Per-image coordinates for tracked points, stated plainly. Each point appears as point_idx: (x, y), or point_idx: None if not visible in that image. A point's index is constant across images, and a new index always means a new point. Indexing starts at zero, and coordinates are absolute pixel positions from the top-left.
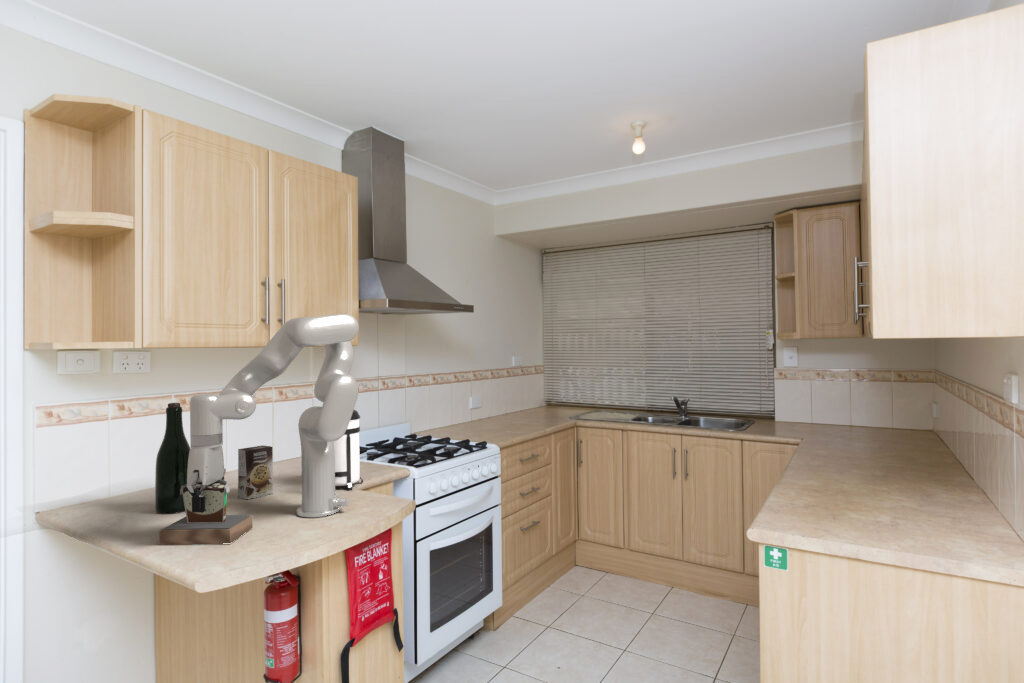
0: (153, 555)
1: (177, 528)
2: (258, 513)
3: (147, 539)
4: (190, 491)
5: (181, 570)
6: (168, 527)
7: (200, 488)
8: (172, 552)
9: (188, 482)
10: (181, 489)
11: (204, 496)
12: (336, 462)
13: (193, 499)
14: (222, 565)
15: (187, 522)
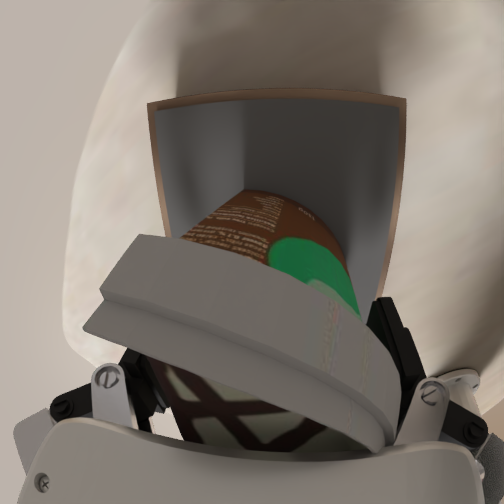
0: (95, 161)
1: (164, 187)
2: (495, 286)
3: (244, 5)
4: (56, 407)
5: (64, 293)
6: (174, 127)
7: (181, 434)
8: (123, 205)
9: (19, 448)
10: (109, 292)
11: (158, 411)
12: None
13: (120, 362)
14: (107, 350)
15: (241, 191)
